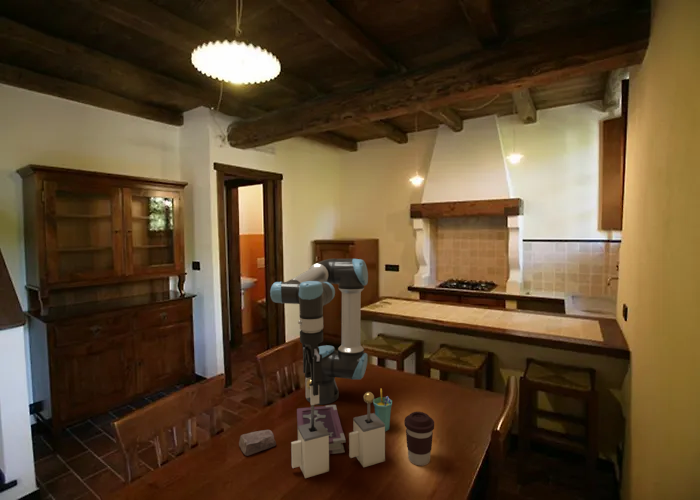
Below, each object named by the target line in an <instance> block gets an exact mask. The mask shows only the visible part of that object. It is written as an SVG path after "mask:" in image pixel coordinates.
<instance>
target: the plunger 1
mask: <svg viewBox="0 0 700 500" xmlns="http://www.w3.org/2000/svg"><path fill="white" fill-rule="evenodd" d="M309 384H311V379H309V380H308V381H307V388H308V389H309V390H310V386H309ZM310 407H311V432H314V407H315V405H311V404H310Z"/></svg>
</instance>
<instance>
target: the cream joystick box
mask: <svg viewBox="0 0 700 500" xmlns="http://www.w3.org/2000/svg"><path fill="white" fill-rule="evenodd" d="M290 446H291V447H290V448H291V449H290V451H291V457H290V458H291V468H292V469H294V468H298V467H299V468H300V470H301V472H302V474H303V476H304V479H307V478H310V477H315V476H317V475H321V474H325V473H327V472H330V454H329V433H328V431H327V430H326V428H325V427H324V425H323V424H322V422H321V421H317V422H314V432H311V423H309V424H305V425H300V426H298V427H297V440H294V441H291V442H290Z"/></svg>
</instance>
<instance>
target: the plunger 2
mask: <svg viewBox="0 0 700 500" xmlns="http://www.w3.org/2000/svg"><path fill="white" fill-rule="evenodd" d="M374 399H375V395H374V394H373V393H372V392H371V391H366V392H365V393H364V394H363V401H364V402H365V403H366V404H367V405H366V407H367V408H366V409H367V410H366V411H367V412H366V413H367V414H366V415H367V424H368V423H370V414H371V404H372V403H374Z"/></svg>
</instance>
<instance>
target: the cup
mask: <svg viewBox="0 0 700 500" xmlns="http://www.w3.org/2000/svg"><path fill="white" fill-rule="evenodd" d="M379 389H380V390H379V391H380V396H379V397H377V398H374V400H373V406H374V414H375V415H376V416H377V417H378V418H379V419H380V420H381V421H382V422H383V423H384V424H385V432H387V431H389V430H390V424H391V423H390V421H391V412H392V406H393V400H392V399H390V398H389V397H390V396H388V395H387V396H383V389H382V388H379Z"/></svg>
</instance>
